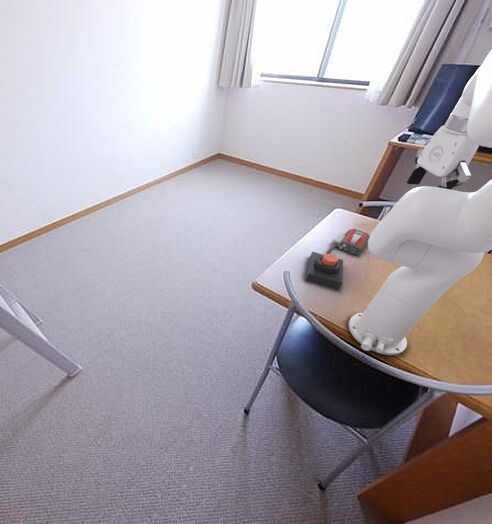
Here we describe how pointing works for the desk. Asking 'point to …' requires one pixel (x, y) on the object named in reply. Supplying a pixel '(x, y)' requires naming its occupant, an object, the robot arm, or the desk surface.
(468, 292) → the desk surface
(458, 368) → the desk surface
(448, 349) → the desk surface
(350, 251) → the walkie-talkie
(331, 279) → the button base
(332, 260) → the pump button
